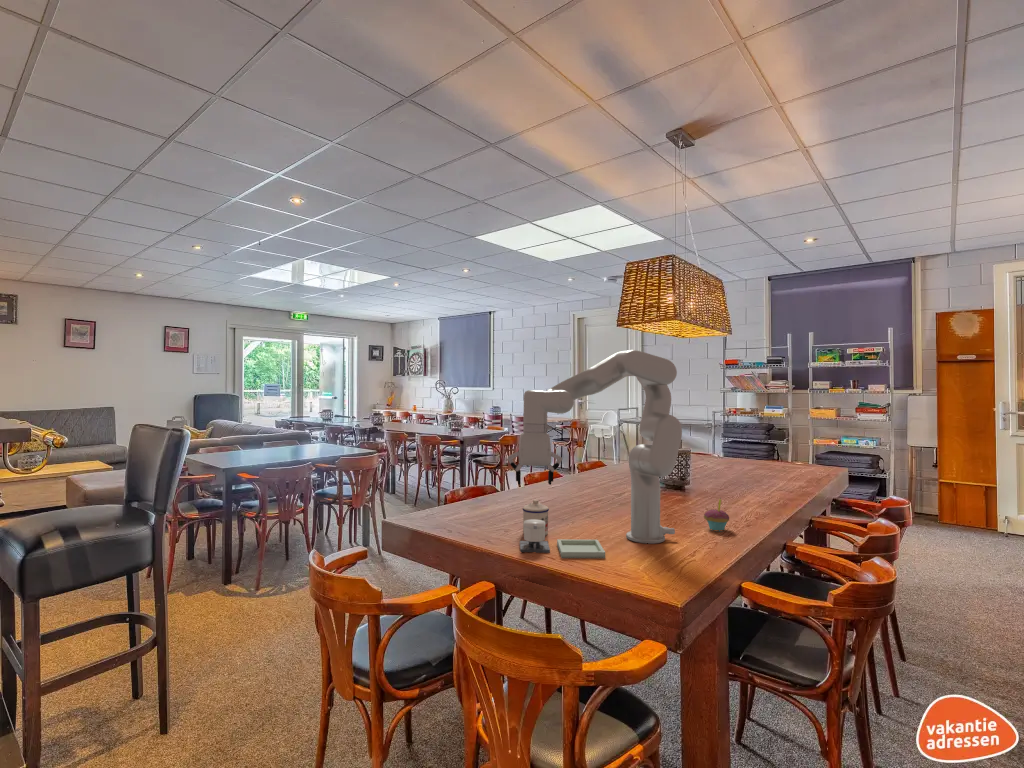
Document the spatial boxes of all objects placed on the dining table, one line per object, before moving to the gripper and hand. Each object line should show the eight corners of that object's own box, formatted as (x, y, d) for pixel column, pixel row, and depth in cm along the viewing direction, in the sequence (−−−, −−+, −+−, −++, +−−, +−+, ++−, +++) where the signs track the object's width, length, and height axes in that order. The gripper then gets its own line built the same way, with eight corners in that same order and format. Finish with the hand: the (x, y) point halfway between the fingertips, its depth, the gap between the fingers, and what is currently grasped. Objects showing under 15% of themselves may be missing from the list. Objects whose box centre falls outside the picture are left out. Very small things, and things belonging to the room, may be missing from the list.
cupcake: (734, 531, 182) (734, 497, 182) (716, 533, 179) (716, 499, 179) (716, 525, 190) (716, 493, 190) (698, 527, 187) (698, 494, 187)
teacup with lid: (542, 538, 171) (542, 503, 172) (518, 535, 176) (518, 501, 176) (555, 530, 182) (555, 497, 182) (532, 527, 186) (532, 494, 186)
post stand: (547, 544, 165) (547, 522, 166) (549, 552, 156) (550, 529, 156) (519, 544, 165) (519, 522, 165) (520, 552, 156) (520, 529, 156)
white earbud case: (544, 535, 164) (544, 519, 164) (546, 542, 157) (546, 525, 157) (523, 535, 164) (523, 519, 164) (524, 542, 157) (524, 525, 157)
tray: (597, 545, 165) (597, 539, 165) (605, 558, 152) (605, 552, 152) (557, 545, 164) (557, 539, 164) (561, 558, 151) (561, 552, 151)
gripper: (561, 428, 165) (560, 482, 165) (507, 428, 165) (506, 481, 165) (563, 430, 158) (563, 486, 157) (507, 429, 158) (507, 485, 157)
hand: (534, 483), depth 161 cm, fingers open, 9 cm apart
